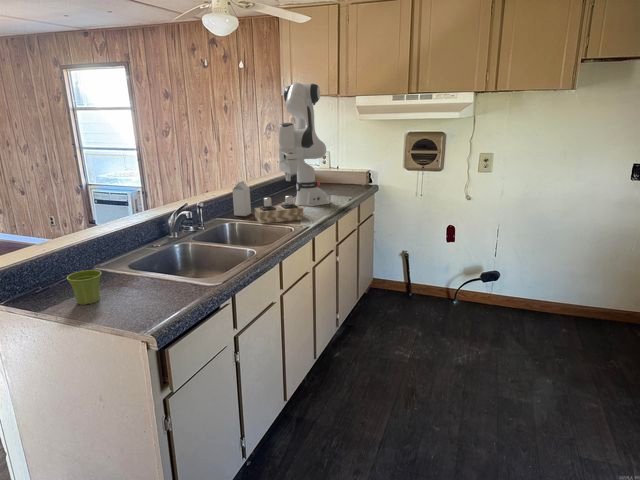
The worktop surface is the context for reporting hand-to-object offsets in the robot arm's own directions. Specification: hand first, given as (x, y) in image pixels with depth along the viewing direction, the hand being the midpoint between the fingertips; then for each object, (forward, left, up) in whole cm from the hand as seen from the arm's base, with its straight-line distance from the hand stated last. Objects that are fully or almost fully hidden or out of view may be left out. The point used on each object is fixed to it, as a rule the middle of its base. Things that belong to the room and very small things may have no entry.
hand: (288, 180), depth 235 cm
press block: (+6, 0, -20) cm, 21 cm away
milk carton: (+22, -19, -21) cm, 36 cm away
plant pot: (+92, +81, -21) cm, 124 cm away
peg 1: (+12, 0, -15) cm, 19 cm away
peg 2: (0, 0, -16) cm, 15 cm away
